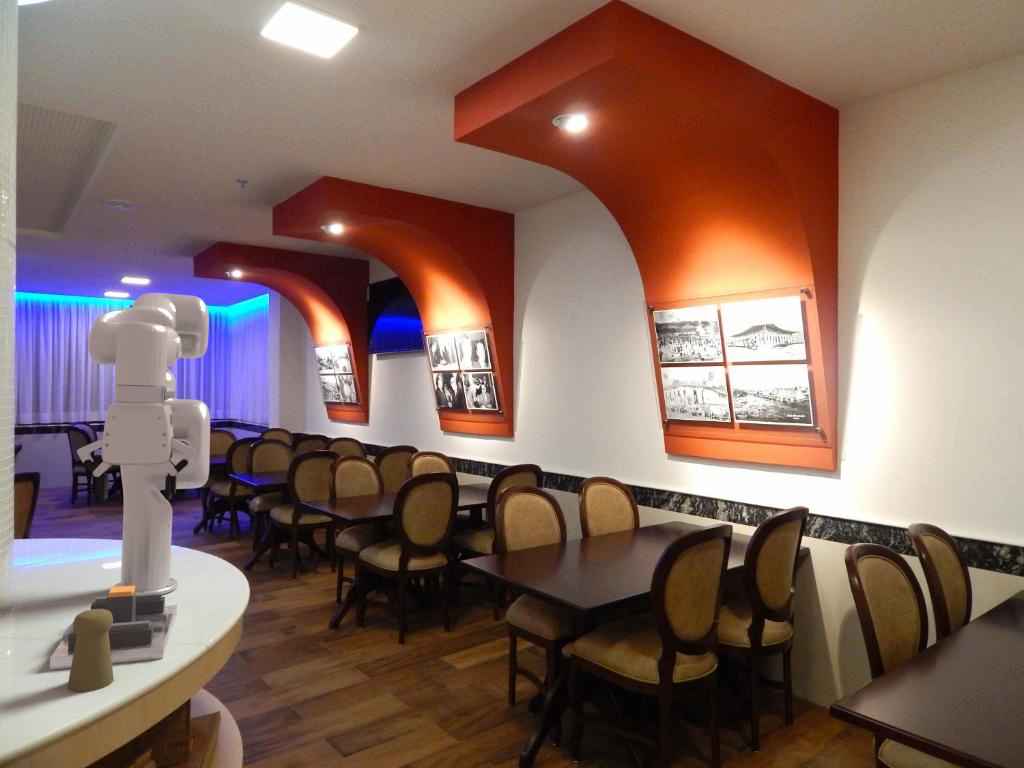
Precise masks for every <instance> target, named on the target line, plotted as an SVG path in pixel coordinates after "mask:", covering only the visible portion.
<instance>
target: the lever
mask: <svg viewBox="0 0 1024 768" xmlns="http://www.w3.org/2000/svg"><path fill="white" fill-rule="evenodd" d="M107 596H108V597H107V606H106V610H108V611H110V612H111V614H112V616H113V623H125V622H135V615H136V590H135V586H119V587H113V586H112V587H111V589H110V590H109V592H108V595H107Z"/></svg>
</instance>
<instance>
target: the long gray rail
mask: <svg viewBox="0 0 1024 768" xmlns="http://www.w3.org/2000/svg"><path fill="white" fill-rule="evenodd" d="M107 597H108V595H107V596H106V595H105V596H96V597H95V598H94V601H93V602H92V603H91V605H90V610H92V609H106V606H107ZM165 606H166V596H163V594H162V593H148V594H136V615H144V614H156V613H163V612H164V609H165ZM153 630H154V625H150V620H149V621H137V622H125V623H113V624H112V627H111V628H110V630H109V631H108V633H109V642H110V648H113V647H123V646H134V645H145V644H151V643H152V640H153ZM76 638H77V635H76V634H75V633H74V630H73V632H72V633H71V634H70V636H69V638H68V652H70V651H74V649H75V644H76Z"/></svg>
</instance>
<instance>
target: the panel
mask: <svg viewBox="0 0 1024 768" xmlns="http://www.w3.org/2000/svg"><path fill="white" fill-rule="evenodd" d="M177 610H178V605H177V604H174V605H165V609H164V612H163V613H156V614H144V615H135V622H137V621H149V620H150V625H154V630H153V640H152V643H151V644H145V645H134V646H123V647H113V648H110V651H111V660H112V665H113V664H120V663H121V664H125V663H131V662H141V661H142V662H143V661H152V660H161V659H163V658H164V657H165V656H164V655H165V652H166V649H167V646H168V644H169V640H170V636H171V633H172V632H173V631H172V630H173V628H174V625H175V621H176V618H177V616H178V613H177V612H178V611H177ZM72 632H73V622H72V623H71V624H70V625H69V627H68V628H67V630H65V632H64V634H63V636H62V637H63V638H62V640H61V642H60V643H59V645H58V646H57V647H56V648H55V650H54V652H53V653H52V655H51V656H50V657H49V671H53V670H63V669H71V665H72V660H73V654H74V651H70V652H68V638H69V636H70V634H71V633H72Z"/></svg>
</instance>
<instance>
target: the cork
mask: <svg viewBox="0 0 1024 768" xmlns="http://www.w3.org/2000/svg"><path fill="white" fill-rule="evenodd" d="M72 623H73V630H74V633H75V634H76V635H77V638H76V644H75V649H74V654H73V660H72V665H71V668H70V671H69V676H68V677H69V678H68V681H67V691H70V692H74V693H88V692H89V693H90V692H93V691H98V690H100V689H103V688H106V687H109V686H110V685H111V684H112V683H113V682H114V681H115V680H114V678H115V677H114V671H113V664H112V660H111V651H110V642H109V633H108V631H109V630H110V628H111V627H112V624H113V616H112V614H111V612H110V611H108V610H106V609H92V610H91V609H88V610H85V611H82V612H80V613H78V614H77V615H76V616H75V618H74V620H73V622H72Z"/></svg>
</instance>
